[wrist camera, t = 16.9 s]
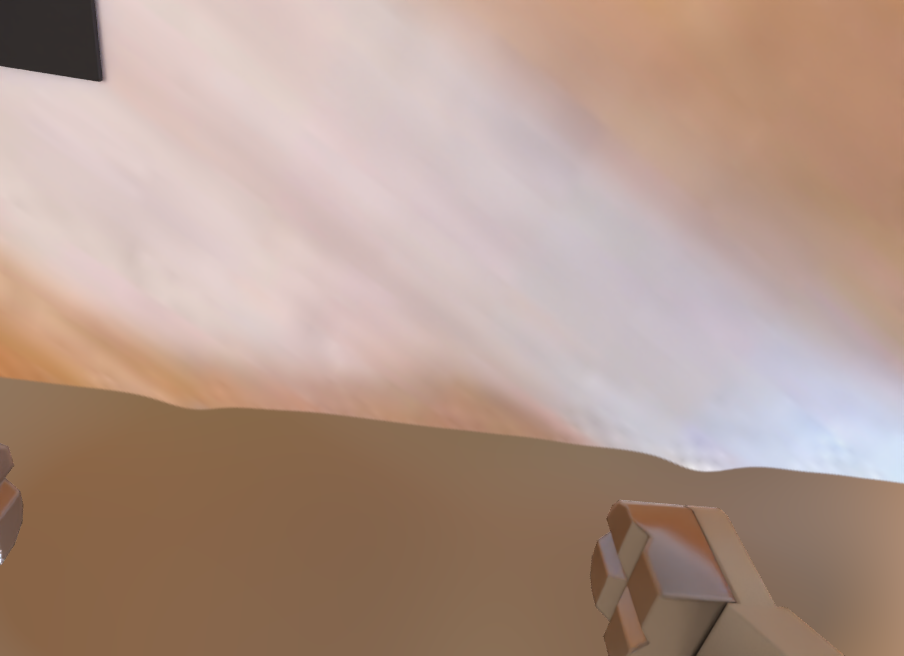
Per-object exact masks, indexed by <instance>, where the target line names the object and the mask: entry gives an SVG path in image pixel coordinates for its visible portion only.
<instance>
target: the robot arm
mask: <svg viewBox="0 0 904 656" xmlns="http://www.w3.org/2000/svg"><path fill="white" fill-rule="evenodd" d="M13 467H14V464H13V460H12V457H11V454H10V450H9V447H8V446H6V445H3V444H1V443H0V565H1V564H2V563H3V562H4V560H5V559H6V557H7V555H8V554H9V552H10V551H11V549H12V548H13V546H14V545H15V542H16V539H17V536H18V533H19V530H20V527H21V524H22V518H23V501H22V497H21V493H20V491H19V490H18V489H17V488H16V487H15V486H14V485H13V484H12V483H11V482H9V481H8V480H7V479H6V478H5V477H6V475H7V474H8V473H9V472H10V470H11V469H12V468H13ZM607 522H608V525H609V528H610V532H609V533H608V534H606V535H605V536H603V537H602V538H600V539H599V540H598V541H597V544H596V546H595V549H594V552H593V555H592V560H591V572H590V579H591V589H592V594H593V598H594V602H595V606H596V608H597V609H598V610H599V611H600V612H601V613H602V614H603V615H604V616H605V617H606V618H607V619H608V620H609V622H610V623H609V625H608V627H607V629H606V631H605V633H604V636H603V637H604V641H605V644H606V648H607V652H608V656H845V655H844V654H842V653H841V652H840V651H839V650H837V649H836V648H835V647H834V646H832V645H831V644H830V643H829V642H828V641H827V640H825V639H824V638H823V637H822V636H821V635H819V634H818V633H817V632H816V631H814V630H813V629H812V628H811V627H810V626H808V625H807V624H806V623H805V622H804V621H802V620H801V619H800V618H799V617H798V616H796V615H795V614H794V613H793V612H791V611H790V610H789V609H788V608H785V607H776V605H775V603H774V601H773V599H772V598H771V596H770V594H769V592H768V590H767V588H766V586H765V585H764V583H763V581H762V579H761V577H760V575H759V574H758V572H757V570H756V568H755V566H754V564H753V562H752V561H751V559H750V557H749V555H748V553H747V551H746V549H745V547H744V546H743V544H742V542H741V540H740V538H739V537H738V535H737V533H736V531H735V529H734V527H733V525H732V523H731V522H730V520H729V518H728V516H727V515H726V514H725V513H724V512H723V511H722V510H721V509H720V508H712V507H699V506H687V505H686V506H681V505H673V504H661V503H649V502H637V501H625V500H618V501H617V502H616V503H615V504H614V505H612V507H611V509H610V512H609V514H608V516H607Z"/></svg>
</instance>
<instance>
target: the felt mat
mask: <svg viewBox="0 0 904 656" xmlns="http://www.w3.org/2000/svg"><path fill="white" fill-rule="evenodd" d="M0 66H5V67H11V68H17V69H23V70H30V71H36V72H42V73H48V74H55V75H61V76H67V77H73V78H80V79H86V80H92V81H98V82H99V81H102V70H101V60H100V51H99V41H98V31H97V22H96V12H95V2H94V0H0Z"/></svg>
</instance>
